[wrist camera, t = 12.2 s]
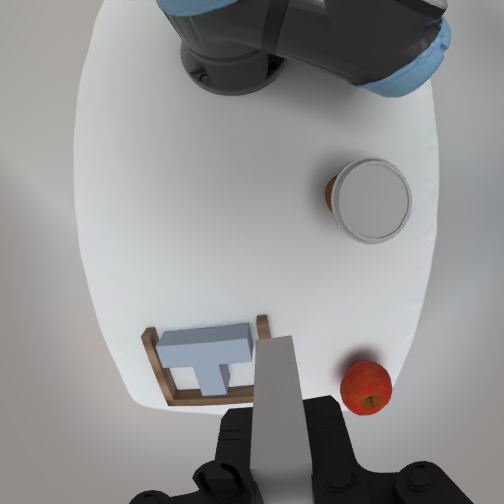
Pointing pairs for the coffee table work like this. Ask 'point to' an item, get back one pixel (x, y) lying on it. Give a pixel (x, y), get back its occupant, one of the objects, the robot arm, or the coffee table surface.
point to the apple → (366, 388)
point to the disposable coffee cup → (370, 200)
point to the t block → (207, 353)
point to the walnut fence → (195, 396)
